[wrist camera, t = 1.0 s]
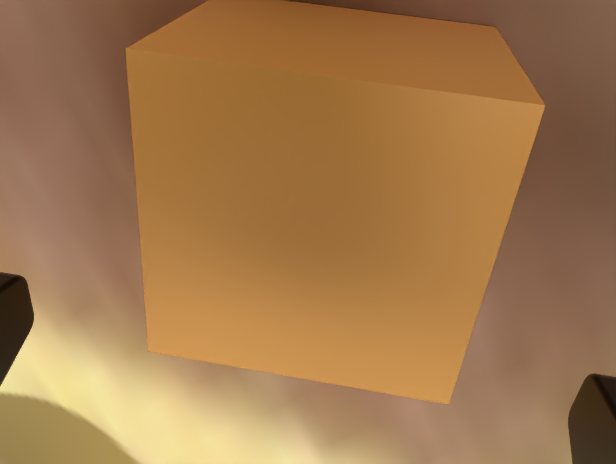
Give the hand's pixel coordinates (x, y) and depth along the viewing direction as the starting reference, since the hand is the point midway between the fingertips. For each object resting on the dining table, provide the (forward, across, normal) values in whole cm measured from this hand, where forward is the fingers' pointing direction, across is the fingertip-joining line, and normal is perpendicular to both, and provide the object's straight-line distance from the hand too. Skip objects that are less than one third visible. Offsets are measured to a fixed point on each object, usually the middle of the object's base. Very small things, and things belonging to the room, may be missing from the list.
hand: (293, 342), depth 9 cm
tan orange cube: (+9, 0, 0) cm, 9 cm away
